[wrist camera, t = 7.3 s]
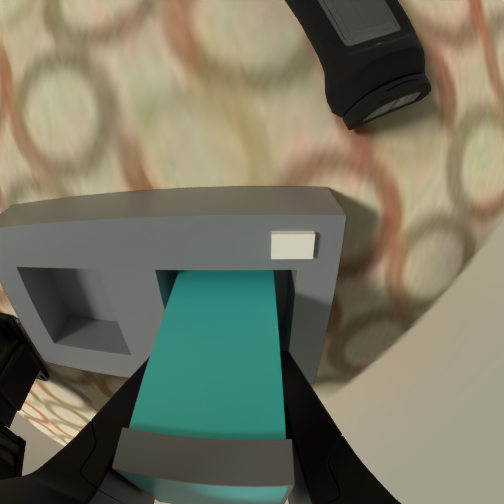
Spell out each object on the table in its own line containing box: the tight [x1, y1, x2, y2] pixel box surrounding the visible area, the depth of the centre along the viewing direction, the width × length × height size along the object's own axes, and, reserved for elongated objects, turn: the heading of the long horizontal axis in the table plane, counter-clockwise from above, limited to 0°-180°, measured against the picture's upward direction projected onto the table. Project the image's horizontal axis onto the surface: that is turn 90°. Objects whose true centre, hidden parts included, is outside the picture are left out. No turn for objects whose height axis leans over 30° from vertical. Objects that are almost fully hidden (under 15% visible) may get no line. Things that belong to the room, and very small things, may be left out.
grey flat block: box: [0, 186, 346, 384], centre depth 11 cm, size 14×8×3 cm, turn 91°
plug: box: [112, 270, 295, 504], centre depth 8 cm, size 3×3×7 cm
